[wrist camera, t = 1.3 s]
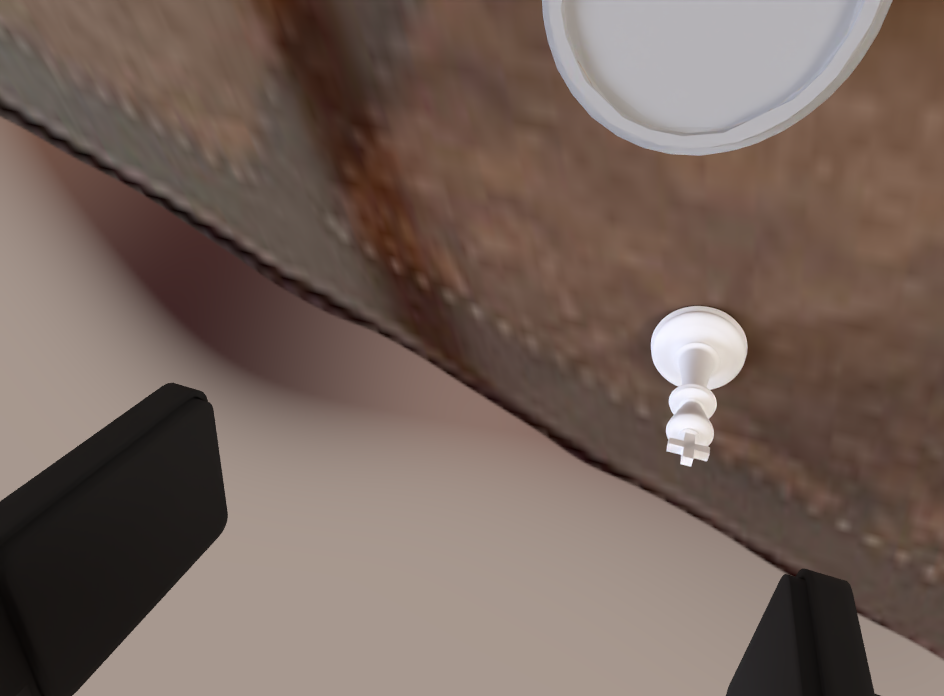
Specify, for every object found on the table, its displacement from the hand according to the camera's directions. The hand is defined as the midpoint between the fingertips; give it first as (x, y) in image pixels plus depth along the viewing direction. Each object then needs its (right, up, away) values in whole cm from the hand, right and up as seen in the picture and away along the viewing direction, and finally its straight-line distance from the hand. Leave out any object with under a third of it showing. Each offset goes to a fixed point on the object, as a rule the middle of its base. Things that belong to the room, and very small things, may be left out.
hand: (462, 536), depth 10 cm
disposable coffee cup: (+10, +19, +17) cm, 27 cm away
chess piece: (+12, +3, +25) cm, 28 cm away
